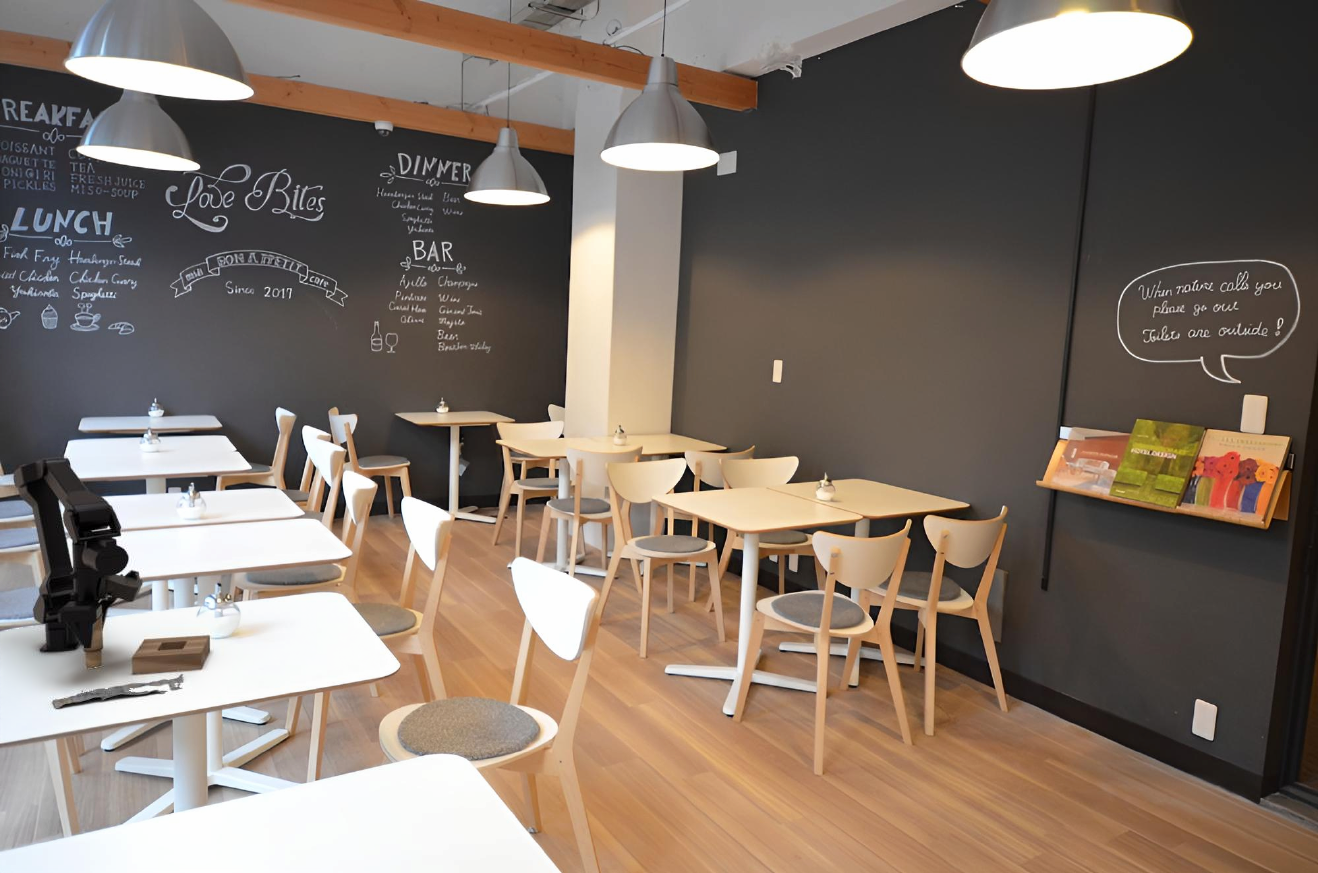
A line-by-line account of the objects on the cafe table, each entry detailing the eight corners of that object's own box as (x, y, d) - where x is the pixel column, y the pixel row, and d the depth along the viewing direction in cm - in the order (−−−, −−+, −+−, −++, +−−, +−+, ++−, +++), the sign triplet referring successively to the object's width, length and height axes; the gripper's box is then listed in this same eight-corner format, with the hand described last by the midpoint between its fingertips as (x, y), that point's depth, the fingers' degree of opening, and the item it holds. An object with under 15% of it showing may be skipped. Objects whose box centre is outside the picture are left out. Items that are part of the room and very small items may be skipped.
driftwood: (48, 713, 150) (48, 702, 150) (53, 698, 156) (53, 687, 156) (183, 695, 161) (183, 684, 160) (183, 681, 166) (183, 671, 166)
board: (145, 655, 176) (144, 639, 176) (210, 651, 180) (209, 635, 179) (132, 674, 167) (131, 657, 166) (201, 669, 170) (201, 652, 170)
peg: (87, 663, 171) (84, 605, 169) (106, 662, 172) (104, 604, 170) (81, 670, 168) (79, 610, 166) (101, 668, 169) (99, 609, 167)
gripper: (125, 576, 161) (127, 656, 163) (149, 551, 178) (150, 623, 180) (55, 579, 157) (58, 660, 159) (87, 553, 175) (89, 626, 177)
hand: (93, 641), depth 169 cm, fingers open, 7 cm apart
